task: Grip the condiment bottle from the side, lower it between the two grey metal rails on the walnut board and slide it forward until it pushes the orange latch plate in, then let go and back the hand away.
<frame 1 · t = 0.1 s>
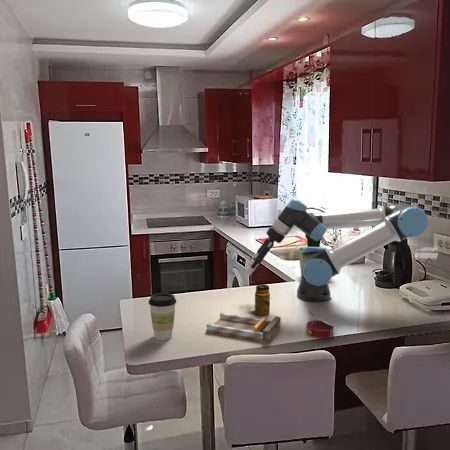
hand: (248, 269, 195), 15 cm above the table, tool tilted 35°, fingers open, 13 cm apart
rail board: (243, 330, 167), on the table
condiment: (259, 314, 184), on the table
latch: (259, 326, 164), point 3 cm above the table, slide at 0.0 cm
coffee cup: (163, 337, 161), on the table
canned food: (319, 333, 165), on the table
potted cactus: (312, 277, 238), on the table
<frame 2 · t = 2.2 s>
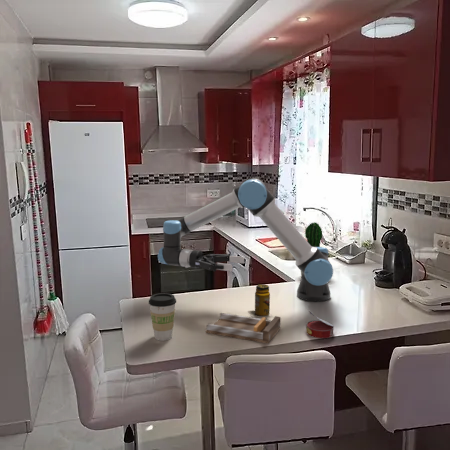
hand: (238, 263, 185), 20 cm above the table, tool horizontal, fingers open, 13 cm apart
nothing on the table moved.
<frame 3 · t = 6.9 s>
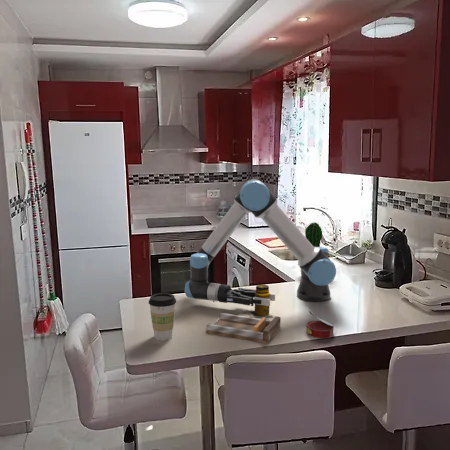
hand: (272, 300, 181), 7 cm above the table, tool horizontal, fingers closed on condiment, 6 cm apart
condiment: (259, 314, 184), on the table, touching gripper
everything else where it was.
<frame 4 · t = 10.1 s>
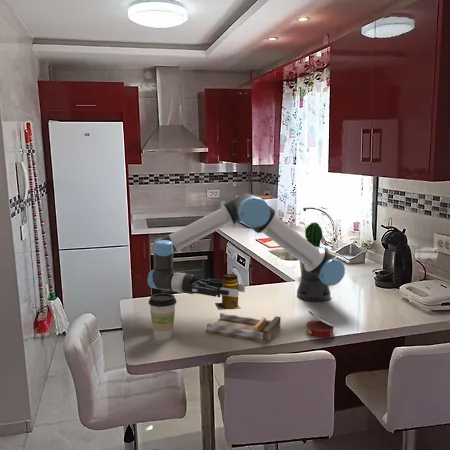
hand: (241, 290, 165), 15 cm above the table, tool horizontal, fingers closed on condiment, 6 cm apart
condiment: (227, 306, 168), point 8 cm above the table, touching gripper
everything else where it was.
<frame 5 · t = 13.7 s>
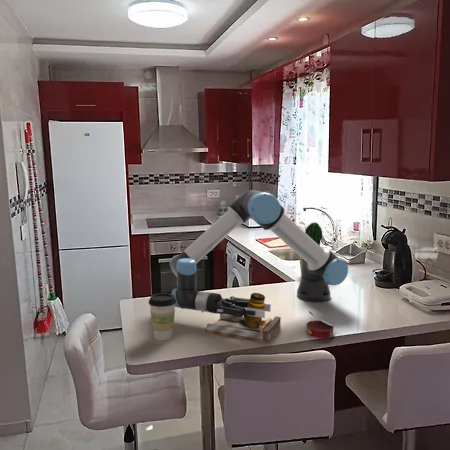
hand: (267, 310, 162), 9 cm above the table, tool horizontal, fingers closed on condiment, 6 cm apart
condiment: (249, 325, 165), point 2 cm above the table, touching gripper, latch
latch: (265, 327, 163), point 3 cm above the table, slide at 2.2 cm, touching condiment
everything else where it was.
when the fingers open (9 cm above the table, at t = 13.8 s): condiment stays where it is, resting on rail board.
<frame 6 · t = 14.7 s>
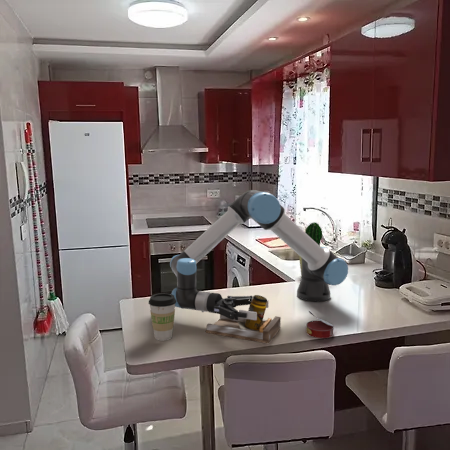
hand: (262, 310, 163), 9 cm above the table, tool horizontal, fingers open, 13 cm apart
condiment: (249, 327, 165), point 2 cm above the table, touching rail board
latch: (265, 327, 163), point 3 cm above the table, slide at 2.2 cm
everything else where it was.
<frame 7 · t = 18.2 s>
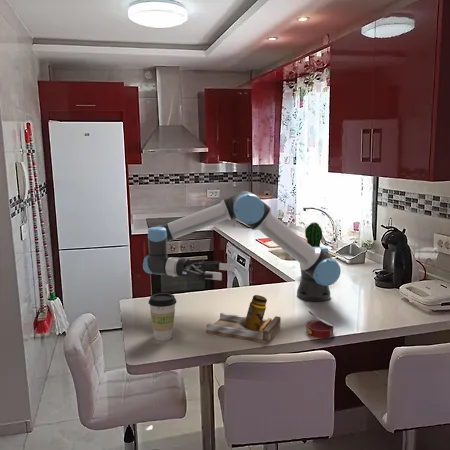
hand: (228, 272, 173), 20 cm above the table, tool horizontal, fingers open, 13 cm apart
nothing on the table moved.
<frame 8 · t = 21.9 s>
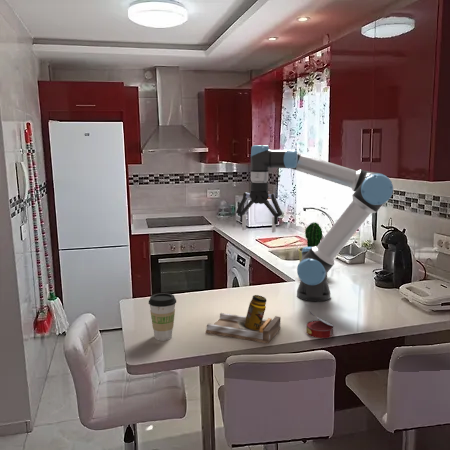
hand: (258, 230, 195), 32 cm above the table, tool pointing down, fingers open, 13 cm apart
nothing on the table moved.
at the end: latch slide at 2.2 cm; condiment inside the target area on the rail board (2.3 cm from its centre), point 1.6 cm above the rail board's base; condiment tilted 14° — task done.
